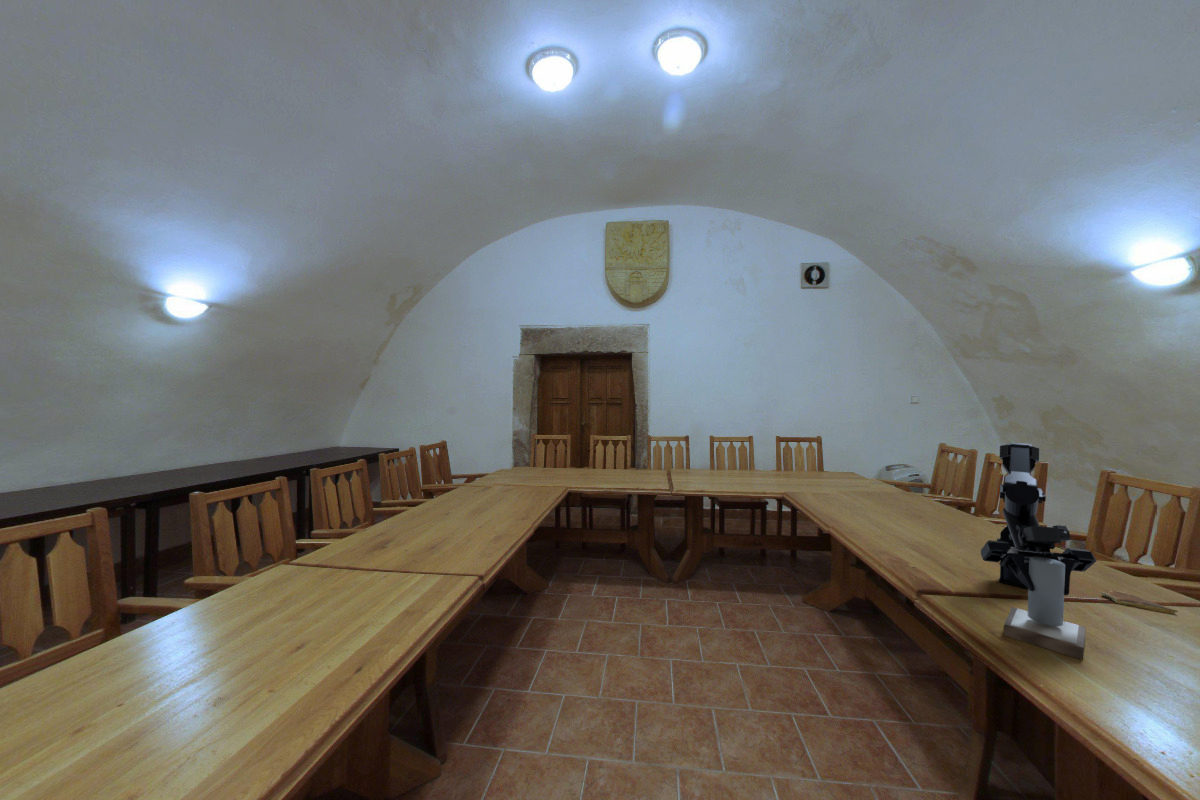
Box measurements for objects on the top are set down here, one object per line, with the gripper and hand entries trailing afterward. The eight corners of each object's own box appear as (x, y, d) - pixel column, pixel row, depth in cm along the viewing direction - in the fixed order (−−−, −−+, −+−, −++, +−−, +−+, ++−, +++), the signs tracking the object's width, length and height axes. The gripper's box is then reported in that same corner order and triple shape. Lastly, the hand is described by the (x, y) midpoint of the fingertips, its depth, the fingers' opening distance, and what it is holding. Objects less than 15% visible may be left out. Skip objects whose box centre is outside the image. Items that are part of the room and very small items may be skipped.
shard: (1178, 617, 109) (1178, 609, 109) (1150, 618, 108) (1150, 611, 108) (1122, 596, 120) (1122, 589, 120) (1096, 597, 119) (1097, 590, 119)
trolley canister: (1026, 618, 100) (1027, 560, 99) (1029, 610, 103) (1030, 554, 103) (1062, 629, 95) (1064, 568, 95) (1064, 620, 99) (1066, 561, 99)
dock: (1003, 635, 100) (1004, 623, 100) (1011, 617, 108) (1011, 606, 108) (1083, 659, 91) (1083, 646, 91) (1085, 638, 99) (1085, 626, 99)
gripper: (987, 506, 106) (1009, 570, 96) (1092, 514, 99) (1127, 584, 89) (972, 529, 113) (991, 591, 103) (1068, 538, 107) (1099, 605, 97)
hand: (1049, 592), depth 98 cm, fingers closed on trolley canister, 5 cm apart
